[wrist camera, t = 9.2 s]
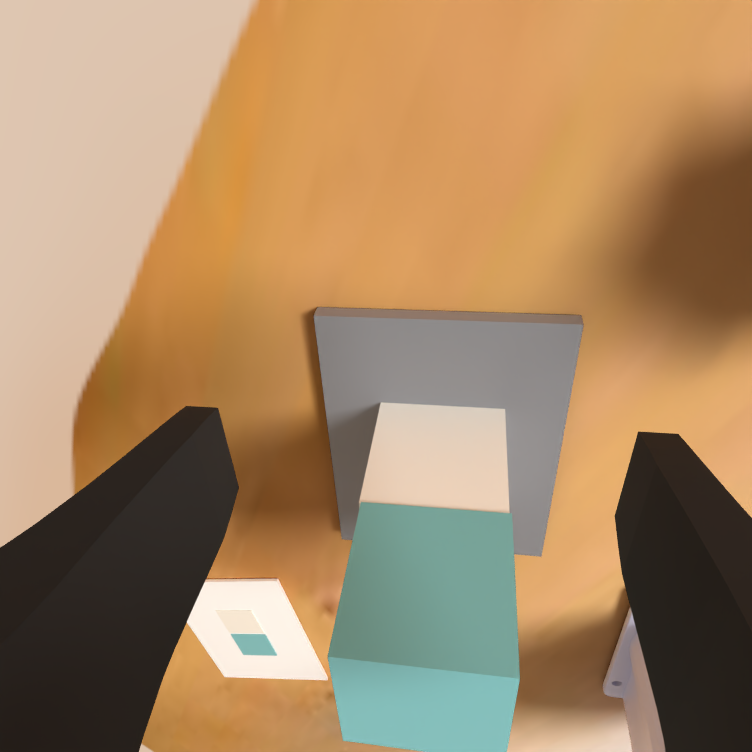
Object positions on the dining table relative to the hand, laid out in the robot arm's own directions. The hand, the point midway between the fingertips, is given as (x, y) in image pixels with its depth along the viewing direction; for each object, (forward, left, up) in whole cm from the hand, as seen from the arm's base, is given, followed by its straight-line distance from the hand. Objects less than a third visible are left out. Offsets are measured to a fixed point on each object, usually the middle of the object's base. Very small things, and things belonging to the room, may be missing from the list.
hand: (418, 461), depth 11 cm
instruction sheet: (-25, +11, -10) cm, 29 cm away
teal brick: (-9, 0, -5) cm, 10 cm away
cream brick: (-9, 0, -10) cm, 13 cm away
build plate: (-9, 0, -10) cm, 14 cm away
